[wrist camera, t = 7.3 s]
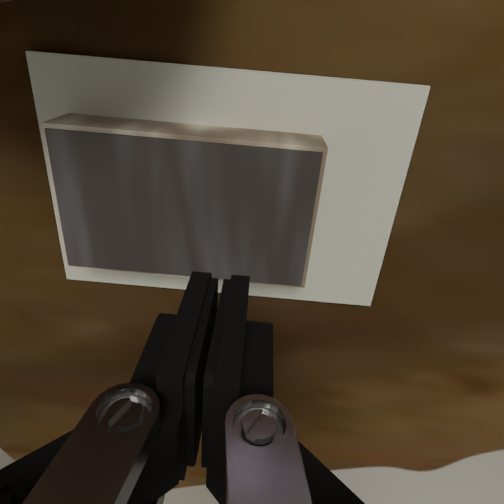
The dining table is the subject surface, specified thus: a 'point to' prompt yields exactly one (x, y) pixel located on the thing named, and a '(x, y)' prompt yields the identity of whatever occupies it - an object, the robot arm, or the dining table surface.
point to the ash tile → (185, 197)
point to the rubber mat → (272, 119)
